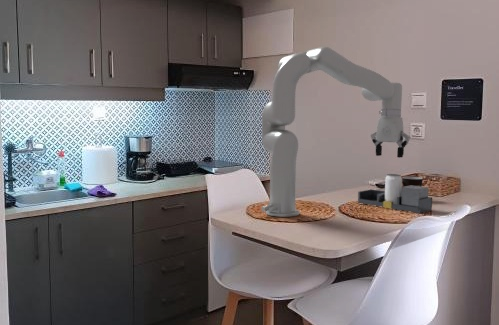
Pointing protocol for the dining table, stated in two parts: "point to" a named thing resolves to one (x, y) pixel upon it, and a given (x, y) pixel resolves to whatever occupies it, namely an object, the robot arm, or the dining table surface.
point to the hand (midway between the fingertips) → (389, 156)
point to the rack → (400, 199)
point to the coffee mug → (412, 181)
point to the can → (393, 187)
